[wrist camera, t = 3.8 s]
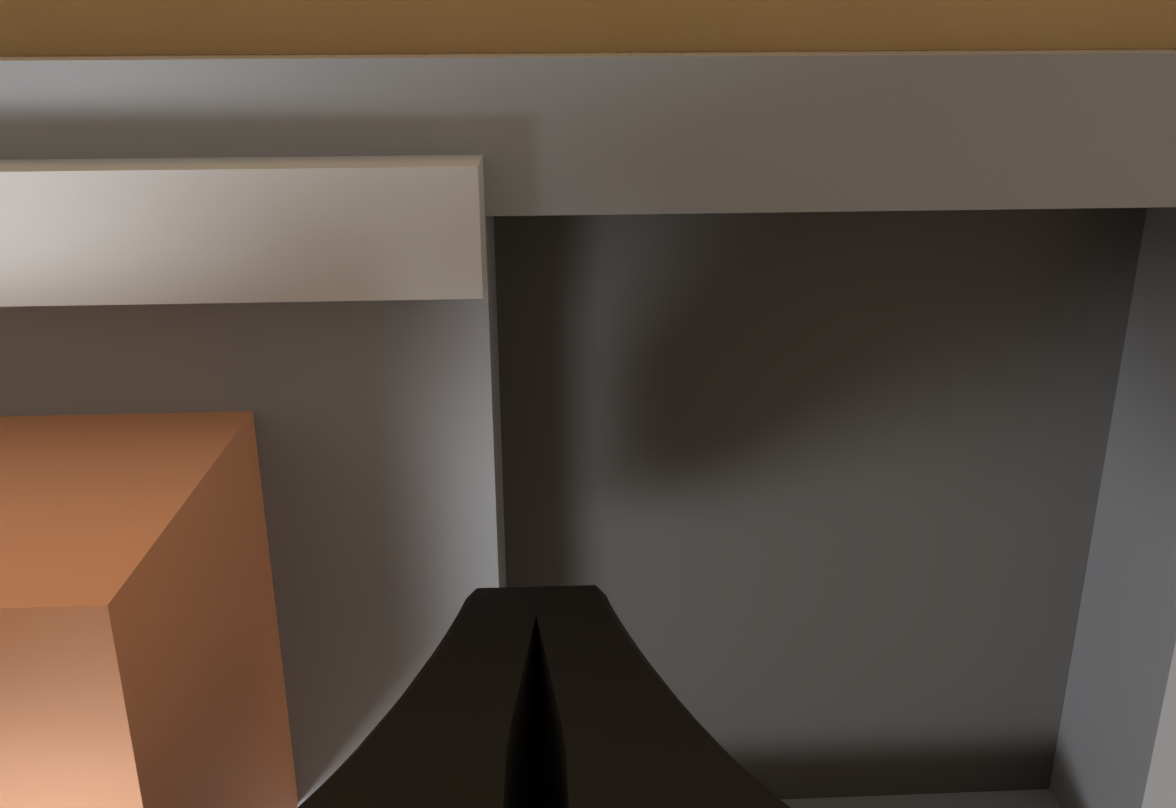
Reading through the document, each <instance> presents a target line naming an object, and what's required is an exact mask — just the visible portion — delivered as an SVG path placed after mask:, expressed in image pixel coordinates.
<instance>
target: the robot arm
mask: <svg viewBox="0 0 1176 808" xmlns="http://www.w3.org/2000/svg"><path fill="white" fill-rule="evenodd" d="M298 808H790V807H789V806H788V805H786V804H785V803H784V802H783V801H781V800H780V799H779V798H778V797H776V796H775V795H774V794H773V793H772V792H771V791H769V790H768V789H767V788H766V787H765V786H764V785H762V784H761V783H760V782H759V781H758V780H757V779H756V778H754V777H753V776H752V775H751V774H750V773H749V772H748V771H747V770H745V769H744V768H743V767H742V766H741V765H740V764H739V763H738V762H737V761H736V760H735V759H734V758H733V757H732V756H731V755H730V754H729V753H728V752H727V751H726V750H725V749H724V748H723V747H722V746H721V745H720V744H719V743H718V742H717V741H716V740H715V739H714V738H713V737H712V736H711V735H710V733H709V732H708V731H707V730H706V729H705V728H704V727H703V726H702V725H701V724H700V723H699V722H698V721H697V720H696V719H695V717H694V716H693V715H692V714H691V713H690V712H689V711H688V709H687V708H686V707H685V706H684V705H683V704H682V703H681V701H680V700H679V699H678V698H677V697H676V696H675V694H674V693H673V692H672V691H671V689H670V688H669V687H668V686H667V684H666V683H665V682H664V680H663V679H662V678H661V677H660V675H659V674H658V673H657V672H656V670H655V669H654V668H653V667H652V665H651V664H650V663H649V662H648V660H647V659H646V657H645V656H644V655H643V653H642V652H641V651H640V649H639V648H638V646H637V645H636V643H635V642H634V641H633V639H632V638H631V636H630V635H629V633H628V632H627V630H626V629H625V627H624V626H623V624H622V623H621V621H620V619H619V618H618V616H617V614H616V613H615V611H614V609H613V608H612V606H611V604H610V602H609V600H608V598H607V596H606V595H605V594H604V593H603V592H602V591H601V590H600V589H599V588H598V587H597V586H596V585H578V586H539V587H500V588H476V589H475V590H474V591H473V592H472V593H471V594H470V595H469V596H468V597H467V598H466V600H465V602H464V604H463V606H462V608H461V609H460V611H459V613H458V615H457V616H456V618H455V620H454V621H453V623H452V625H451V626H450V628H449V630H448V631H447V633H446V634H445V636H444V637H443V639H442V640H441V642H440V643H439V645H438V646H437V648H436V649H435V651H434V652H433V654H432V655H431V657H430V658H429V659H428V661H427V662H426V663H425V665H424V666H423V668H422V669H421V670H420V672H419V673H418V674H417V676H416V677H415V678H414V680H413V681H412V682H411V684H410V685H409V687H408V688H407V689H406V691H405V692H404V693H403V695H402V696H401V697H400V698H399V700H398V701H397V702H396V703H395V705H394V706H393V707H392V708H391V709H390V710H389V712H388V713H387V714H386V715H385V716H384V717H383V719H382V720H381V721H380V722H379V723H378V724H377V726H376V727H375V728H374V729H373V730H372V731H371V733H370V734H369V735H368V736H367V737H366V738H365V740H364V741H363V742H362V743H361V744H360V745H359V747H358V748H357V749H356V750H355V751H354V752H353V753H352V754H351V755H350V756H349V757H348V758H347V759H346V761H345V762H344V763H343V764H342V765H341V766H340V767H339V768H338V769H337V770H336V771H335V772H334V773H333V774H332V775H331V776H330V777H329V778H328V779H327V780H326V781H325V782H324V783H323V784H322V785H321V786H320V787H319V788H318V789H317V790H316V791H315V792H314V793H312V794H311V795H310V796H309V797H308V798H307V799H306V800H305V801H304V802H303V803H302V804H301V805H300V806H299V807H298Z"/></svg>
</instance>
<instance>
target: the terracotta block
mask: <svg viewBox="0 0 1176 808" xmlns="http://www.w3.org/2000/svg"><path fill="white" fill-rule="evenodd" d="M297 805H298V795H297V786H296V778H295V769H294V760H293V752H292V743H291V735H290V726H289V718H288V709H287V700H286V692H285V683H284V675H283V666H282V658H281V649H280V640H279V632H278V623H277V615H276V606H275V598H274V589H273V580H272V572H271V563H270V555H269V546H268V538H267V529H266V520H265V512H264V503H263V495H262V486H261V478H260V469H259V460H258V452H257V443H256V435H255V426H254V418H253V411H228V412H181V413H134V414H87V415H40V416H0V808H297Z"/></svg>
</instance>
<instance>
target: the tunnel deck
mask: <svg viewBox="0 0 1176 808" xmlns="http://www.w3.org/2000/svg"><path fill="white" fill-rule="evenodd" d="M228 411H253V418H254V426H255V435H256V443H257V452H258V460H259V469H260V478H261V486H262V495H263V503H264V512H265V520H266V529H267V538H268V546H269V555H270V563H271V572H272V580H273V589H274V598H275V606H276V615H277V623H278V632H279V640H280V649H281V658H282V666H283V675H284V683H285V692H286V700H287V709H288V718H289V726H290V735H291V743H292V752H293V760H294V769H295V778H296V786H297V795H298V805H297V808H298V807H299V806H300V805H301V804H302V803H303V802H304V801H305V800H306V799H307V798H308V797H309V796H310V795H311V794H312V793H314V792H315V791H316V790H317V789H318V788H319V787H320V786H321V785H322V784H323V783H324V782H325V781H326V780H327V779H328V778H329V777H330V776H331V775H332V774H333V773H334V772H335V771H336V770H337V769H338V768H339V767H340V766H341V765H342V764H343V763H344V762H345V761H346V759H347V758H348V757H349V756H350V755H351V754H352V753H353V752H354V751H355V750H356V749H357V748H358V747H359V745H360V744H361V743H362V742H363V741H364V740H365V738H366V737H367V736H368V735H369V734H370V733H371V731H372V730H373V729H374V728H375V727H376V726H377V724H378V723H379V722H380V721H381V720H382V719H383V717H384V716H385V715H386V714H387V713H388V712H389V710H390V709H391V708H392V707H393V706H394V705H395V703H396V702H397V701H398V700H399V698H400V697H401V696H402V695H403V693H404V692H405V691H406V689H407V688H408V687H409V685H410V684H411V682H412V681H413V680H414V678H415V677H416V676H417V674H418V673H419V672H420V670H421V669H422V668H423V666H424V665H425V663H426V662H427V661H428V659H429V658H430V657H431V655H432V654H433V652H434V651H435V649H436V648H437V646H438V645H439V643H440V642H441V640H442V639H443V637H444V636H445V634H446V633H447V631H448V630H449V628H450V626H451V625H452V623H453V621H454V620H455V618H456V616H457V615H458V613H459V611H460V609H461V608H462V606H463V604H464V602H465V600H466V598H467V597H468V596H469V595H470V594H471V593H472V592H473V591H474V590H475V589H476V588H500V587H539V586H578V585H596V586H597V587H598V588H599V589H600V590H601V591H602V592H603V593H604V594H605V595H606V596H607V598H608V600H609V602H610V604H611V606H612V608H613V609H614V611H615V613H616V614H617V616H618V618H619V619H620V621H621V623H622V624H623V626H624V627H625V629H626V630H627V632H628V633H629V635H630V636H631V638H632V639H633V641H634V642H635V643H636V645H637V646H638V648H639V649H640V651H641V652H642V653H643V655H644V656H645V657H646V659H647V660H648V662H649V663H650V664H651V665H652V667H653V668H654V669H655V670H656V672H657V673H658V674H659V675H660V677H661V678H662V679H663V680H664V682H665V683H666V684H667V686H668V687H669V688H670V689H671V691H672V692H673V693H674V694H675V696H676V697H677V698H678V699H679V700H680V701H681V703H682V704H683V705H684V706H685V707H686V708H687V709H688V711H689V712H690V713H691V714H692V715H693V716H694V717H695V719H696V720H697V721H698V722H699V723H700V724H701V725H702V726H703V727H704V728H705V729H706V730H707V731H708V732H709V733H710V735H711V736H712V737H713V738H714V739H715V740H716V741H717V742H718V743H719V744H720V745H721V746H722V747H723V748H724V749H725V750H726V751H727V752H728V753H729V754H730V755H731V756H732V757H733V758H734V759H735V760H736V761H737V762H738V763H739V764H740V765H741V766H742V767H743V768H744V769H745V770H747V771H748V772H749V773H750V774H751V775H752V776H753V777H754V778H756V779H757V780H758V781H759V782H760V783H761V784H762V785H764V786H765V787H766V788H767V789H768V790H769V791H771V792H772V793H773V794H774V795H775V796H776V797H778V798H779V799H780V800H781V801H783V802H784V803H785V804H786V805H788V806H789V807H790V808H1176V49H1147V50H987V51H827V52H668V53H508V54H348V55H188V56H28V57H0V416H40V415H87V414H134V413H181V412H228Z"/></svg>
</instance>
